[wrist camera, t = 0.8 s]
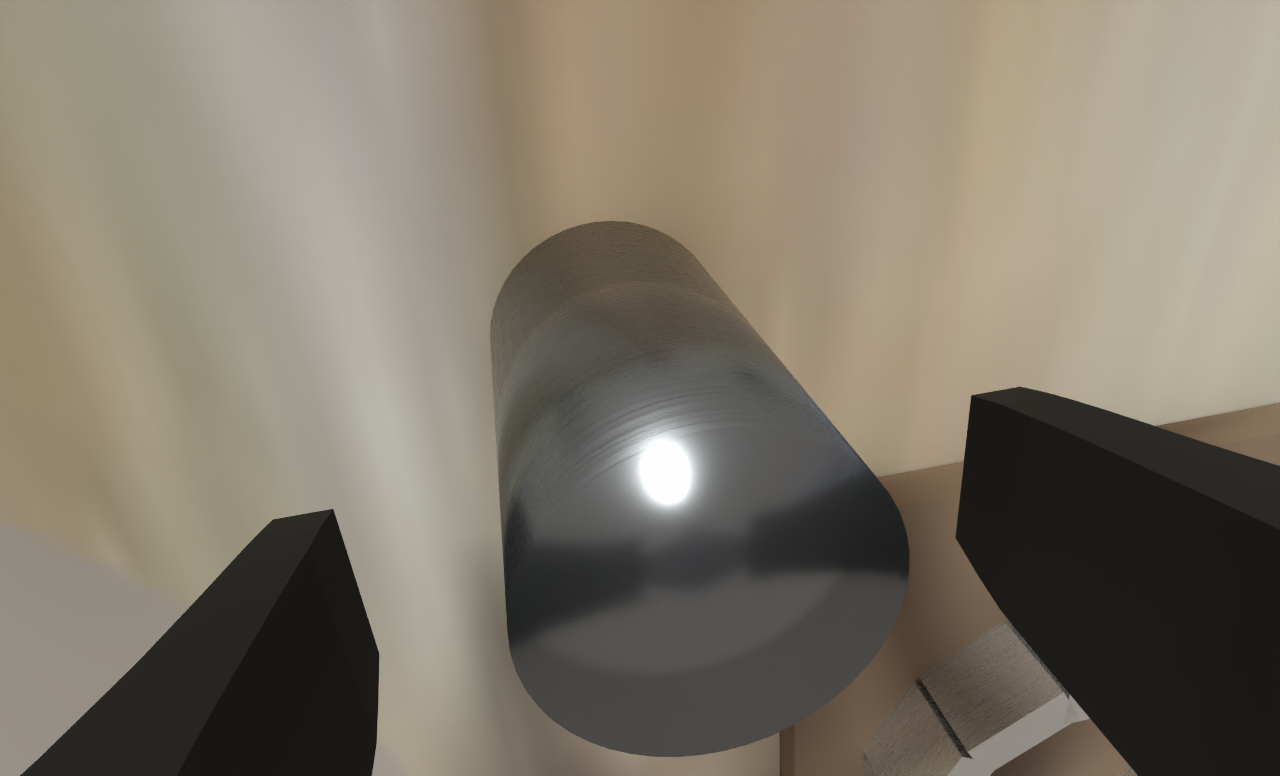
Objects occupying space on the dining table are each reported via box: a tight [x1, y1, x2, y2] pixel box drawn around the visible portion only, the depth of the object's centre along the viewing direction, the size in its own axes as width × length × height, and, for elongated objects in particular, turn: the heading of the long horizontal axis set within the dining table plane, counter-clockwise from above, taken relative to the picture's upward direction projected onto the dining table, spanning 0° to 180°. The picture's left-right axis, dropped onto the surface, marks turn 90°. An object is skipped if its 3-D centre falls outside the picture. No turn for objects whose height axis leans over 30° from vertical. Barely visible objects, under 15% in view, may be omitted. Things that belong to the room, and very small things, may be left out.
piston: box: [490, 221, 910, 757], centre depth 11 cm, size 4×4×7 cm
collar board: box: [780, 403, 1280, 776], centre depth 19 cm, size 12×16×3 cm
